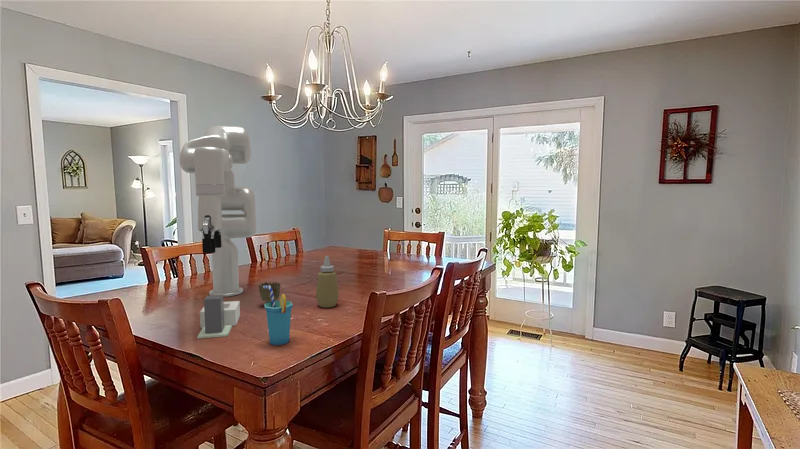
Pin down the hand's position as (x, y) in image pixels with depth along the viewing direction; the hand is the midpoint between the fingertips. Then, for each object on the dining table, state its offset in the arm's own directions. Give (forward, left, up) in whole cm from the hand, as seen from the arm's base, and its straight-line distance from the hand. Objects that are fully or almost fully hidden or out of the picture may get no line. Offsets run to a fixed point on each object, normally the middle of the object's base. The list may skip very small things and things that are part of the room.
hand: (212, 250), depth 120 cm
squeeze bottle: (-19, +34, -25) cm, 46 cm away
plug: (+1, 0, -24) cm, 24 cm away
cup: (+12, +18, -25) cm, 32 cm away
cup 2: (-24, +14, -25) cm, 37 cm away
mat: (+1, 0, -24) cm, 24 cm away
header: (-9, 0, -24) cm, 26 cm away
